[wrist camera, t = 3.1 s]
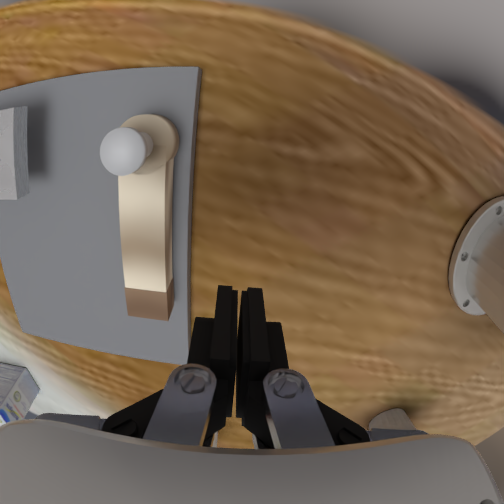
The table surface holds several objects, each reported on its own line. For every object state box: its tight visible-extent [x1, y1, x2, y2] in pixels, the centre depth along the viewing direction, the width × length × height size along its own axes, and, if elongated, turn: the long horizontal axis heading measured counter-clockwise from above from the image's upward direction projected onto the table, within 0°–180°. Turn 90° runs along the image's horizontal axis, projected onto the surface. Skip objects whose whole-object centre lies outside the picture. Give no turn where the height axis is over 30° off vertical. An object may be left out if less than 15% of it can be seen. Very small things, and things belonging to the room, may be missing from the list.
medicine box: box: [0, 363, 39, 426], centre depth 27 cm, size 8×4×9 cm, turn 94°
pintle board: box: [0, 67, 202, 365], centre depth 19 cm, size 19×24×7 cm
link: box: [118, 114, 179, 321], centre depth 19 cm, size 14×4×2 cm, turn 174°
